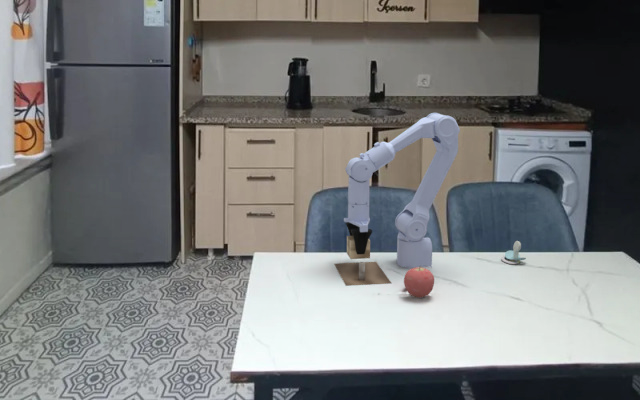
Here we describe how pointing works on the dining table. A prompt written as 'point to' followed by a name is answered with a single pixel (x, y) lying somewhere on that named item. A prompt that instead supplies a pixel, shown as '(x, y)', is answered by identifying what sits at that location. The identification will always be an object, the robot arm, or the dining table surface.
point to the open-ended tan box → (352, 250)
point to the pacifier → (513, 254)
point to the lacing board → (354, 274)
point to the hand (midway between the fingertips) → (358, 250)
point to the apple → (419, 282)
